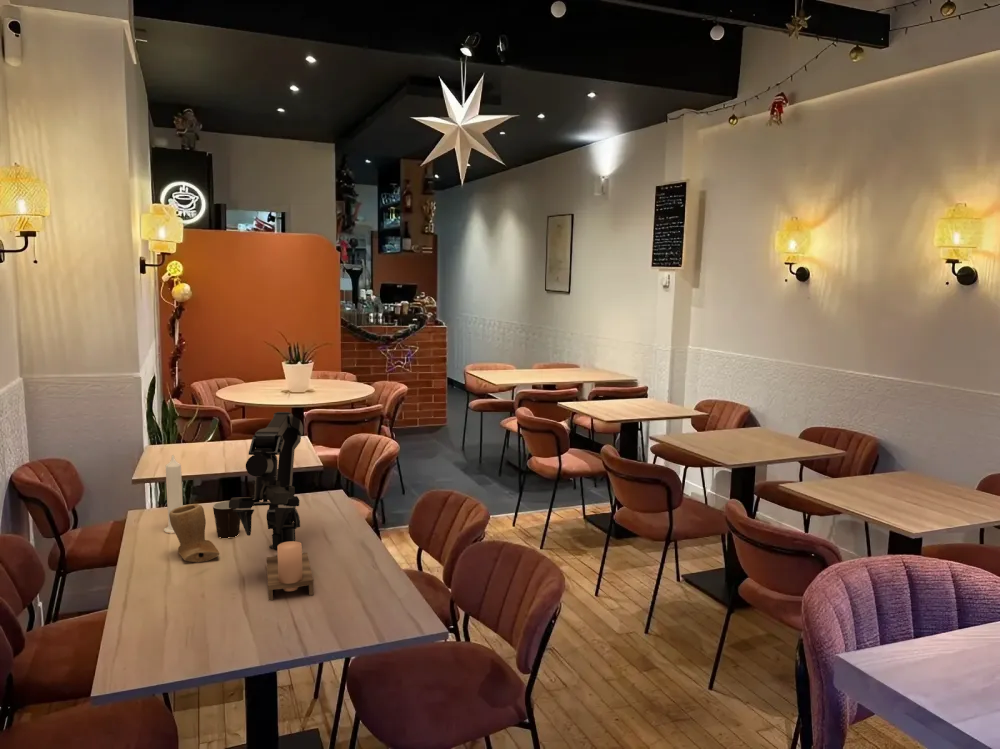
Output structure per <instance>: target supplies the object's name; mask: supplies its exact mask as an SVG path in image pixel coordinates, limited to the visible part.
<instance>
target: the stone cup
mask: <svg viewBox="0 0 1000 749" xmlns="http://www.w3.org/2000/svg"><path fill="white" fill-rule="evenodd" d="M169 517H170V523H171V526H172V528H173V530H174V532H175V534H174V535H175V536H176V537H177V539H178V541H179V546H178V548H177V552H178V554H179V555H180V556H181V558H182V559H183V560H184V561H187V562H191V563H192V562H193V563H202V562H203V563H204V562H208V561H211V560H213V559H215V558H217V557H218V556H220V551H219V550H218V548H217V546H216V545H215V544H214V543H213V541H211V540H207V539H206V533H205V530H206V523H207V522H206V514H205V510H204V507H203V506H202V505H201V504H199V503H192V504H191V503H190V504H185V505H183V506H182V507H178V508H175V509H173V510H172V511H171V512H170V513H169Z"/></svg>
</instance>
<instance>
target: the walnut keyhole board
mask: <svg viewBox="0 0 1000 749" xmlns="http://www.w3.org/2000/svg"><path fill="white" fill-rule="evenodd" d="M266 576H267V577H266V578H267V593H268V601H269V600H271V601H273V600H274V595H273V594H274V591H273V590H280V589H283V588H290V587H298V588H299V587H304V586H305V587H306V586H307V590H309V591H308V595H310V596H314V578H313V573H312V568H311V565H310V560H309V554H308V552H302V580H300V581H299V582H296V583H290V584H284V583H280V582H279V581H278V555H273V556H266Z"/></svg>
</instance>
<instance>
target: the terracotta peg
mask: <svg viewBox="0 0 1000 749" xmlns="http://www.w3.org/2000/svg"><path fill="white" fill-rule="evenodd" d="M276 550H277V556H278V581H279V582H280V583H284V584H290V583H296V582H299V581H300V580H302V553H303V547H302V543H301V542H300V541H296V540H295V541H289V542H283V543H281V544H279V545H278V546H277V549H276ZM298 588H299V587H290V588H282V589H283V591H284V592H294V591H297V590H298Z"/></svg>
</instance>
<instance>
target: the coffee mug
mask: <svg viewBox="0 0 1000 749" xmlns="http://www.w3.org/2000/svg"><path fill="white" fill-rule="evenodd" d="M229 501H230V500H224V501H223V500H222V501H219V502H216V503H214V504H212V510H213V516H214V522H215V528H216V534H217V538H219V537H221V538H220V539H222V538H228V537H234V538H236V537H235V536H237V535H238V534H239V535H240V527H241V520H240V518H239V516H238V514H237V513H236V511H233V509H236V508H229ZM239 535H238V536H239ZM238 536H237V537H238ZM228 539H229V538H228Z"/></svg>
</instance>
